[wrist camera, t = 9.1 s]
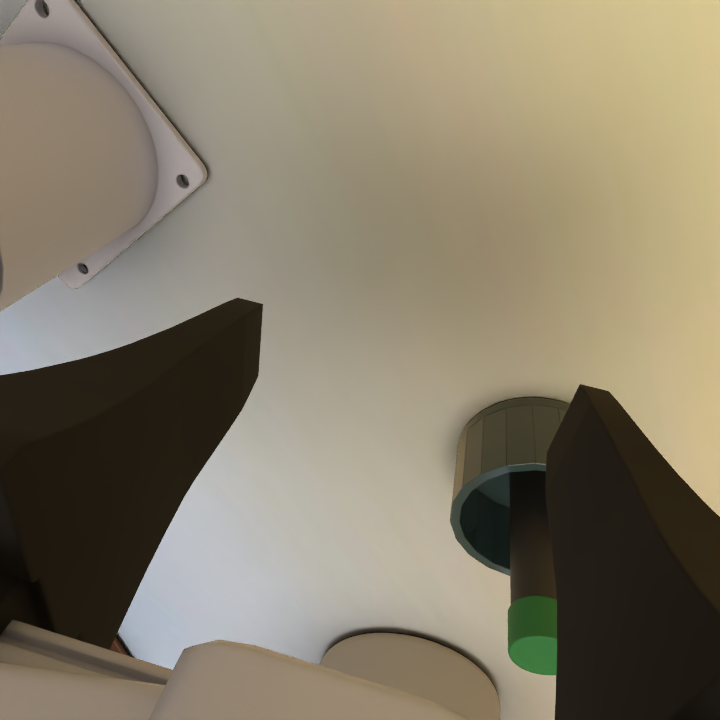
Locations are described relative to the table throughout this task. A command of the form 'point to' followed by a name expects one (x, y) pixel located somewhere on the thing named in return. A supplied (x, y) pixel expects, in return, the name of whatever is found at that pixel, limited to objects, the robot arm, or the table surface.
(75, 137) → the robot arm
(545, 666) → the marker
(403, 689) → the cylinder vase
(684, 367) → the table surface
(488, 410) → the tumbler
